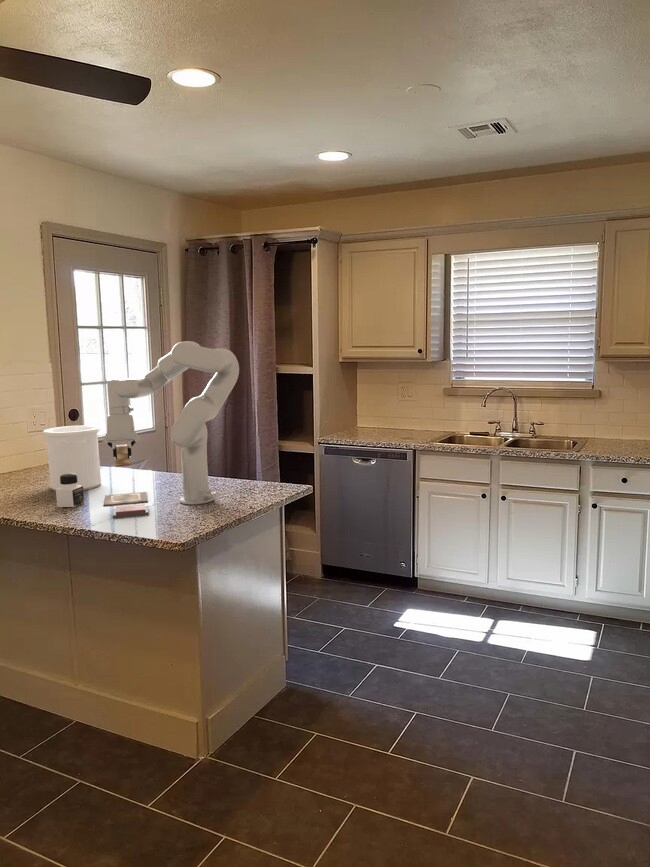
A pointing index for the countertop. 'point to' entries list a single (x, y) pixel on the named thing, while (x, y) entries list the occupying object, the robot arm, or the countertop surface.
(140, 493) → the marked board
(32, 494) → the countertop surface
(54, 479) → the bucket
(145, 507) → the ink pad
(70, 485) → the medicine bottle
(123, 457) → the stamp
